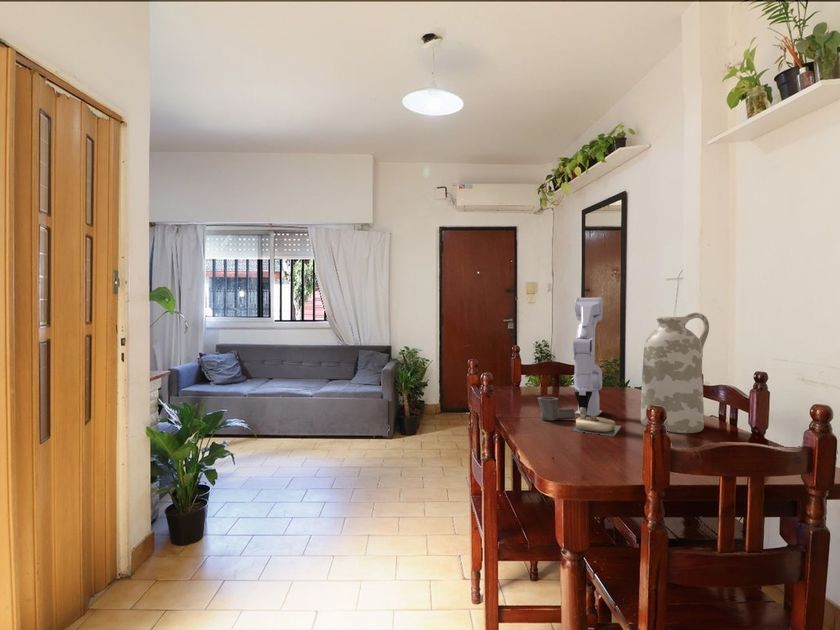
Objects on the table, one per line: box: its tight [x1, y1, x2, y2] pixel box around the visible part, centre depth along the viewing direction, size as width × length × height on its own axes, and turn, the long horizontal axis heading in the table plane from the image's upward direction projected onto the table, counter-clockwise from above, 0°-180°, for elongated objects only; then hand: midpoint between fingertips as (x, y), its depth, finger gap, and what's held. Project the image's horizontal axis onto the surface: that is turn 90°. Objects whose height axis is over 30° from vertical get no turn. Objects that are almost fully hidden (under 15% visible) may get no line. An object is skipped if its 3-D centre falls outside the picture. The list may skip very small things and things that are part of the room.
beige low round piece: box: [575, 407, 616, 432], centre depth 154 cm, size 12×12×6 cm
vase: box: [640, 312, 710, 434], centre depth 156 cm, size 20×19×38 cm
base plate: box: [570, 424, 622, 437], centre depth 154 cm, size 14×13×1 cm
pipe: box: [537, 396, 576, 422], centre depth 167 cm, size 6×13×8 cm, turn 88°
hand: (583, 412), depth 161 cm, fingers closed
